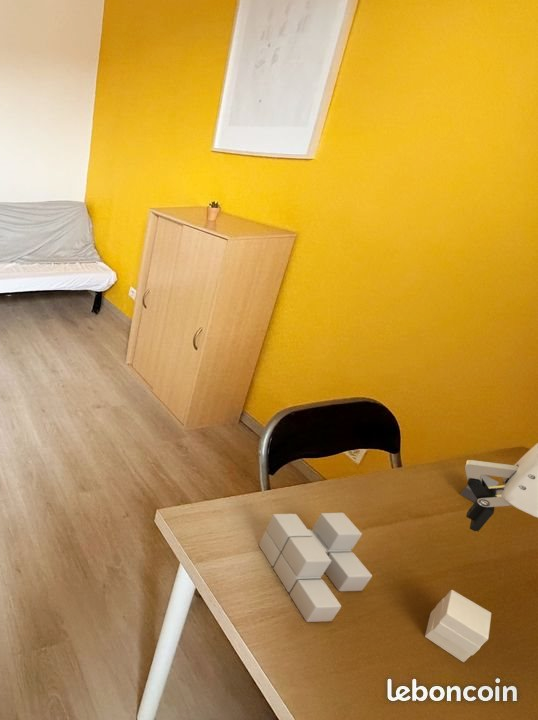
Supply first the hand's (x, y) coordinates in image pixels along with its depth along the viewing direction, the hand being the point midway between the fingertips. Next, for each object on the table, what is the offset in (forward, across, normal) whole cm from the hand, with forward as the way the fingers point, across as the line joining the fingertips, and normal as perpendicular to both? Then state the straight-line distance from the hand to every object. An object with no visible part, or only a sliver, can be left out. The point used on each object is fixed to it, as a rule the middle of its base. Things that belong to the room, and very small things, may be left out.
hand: (528, 551), depth 51 cm
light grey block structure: (+18, +15, +7) cm, 25 cm away
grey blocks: (+19, 0, -36) cm, 41 cm away
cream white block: (+14, +1, +2) cm, 14 cm away
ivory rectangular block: (+18, +1, +2) cm, 18 cm away
